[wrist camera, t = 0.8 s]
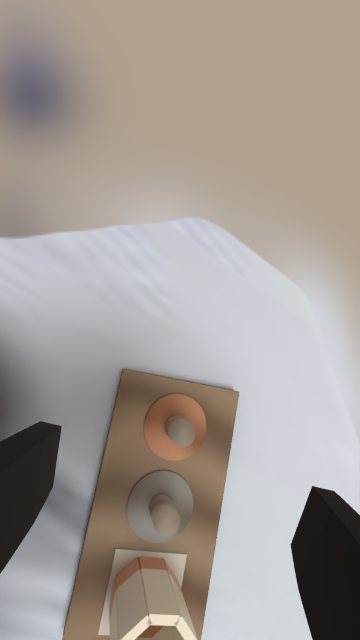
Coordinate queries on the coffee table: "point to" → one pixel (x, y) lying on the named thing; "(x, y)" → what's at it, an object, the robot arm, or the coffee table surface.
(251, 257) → the coffee table surface
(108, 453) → the pin board
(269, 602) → the coffee table surface
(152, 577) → the sleeve
